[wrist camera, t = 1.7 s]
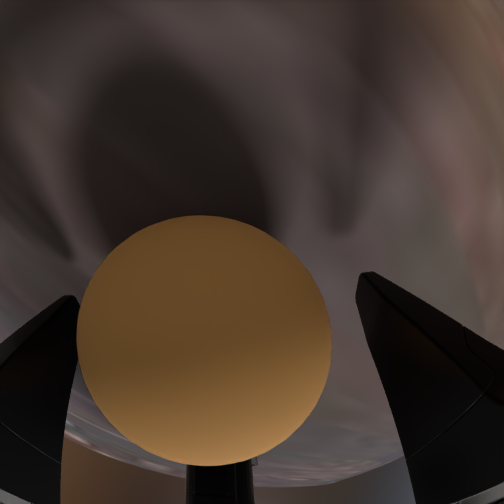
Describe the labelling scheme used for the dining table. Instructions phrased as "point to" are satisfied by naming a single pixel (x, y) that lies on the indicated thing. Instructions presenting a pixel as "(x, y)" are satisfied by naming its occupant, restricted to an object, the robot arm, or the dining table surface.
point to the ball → (204, 340)
